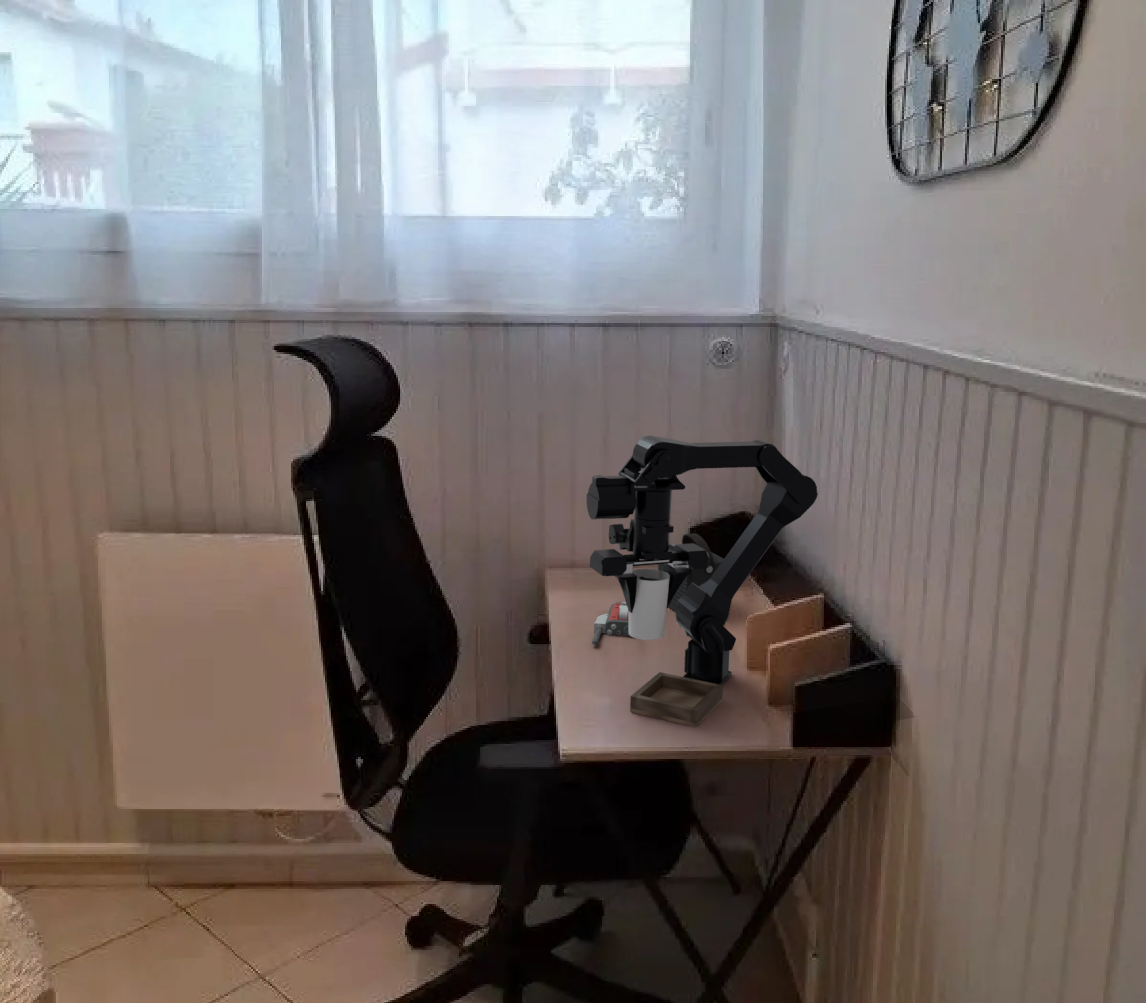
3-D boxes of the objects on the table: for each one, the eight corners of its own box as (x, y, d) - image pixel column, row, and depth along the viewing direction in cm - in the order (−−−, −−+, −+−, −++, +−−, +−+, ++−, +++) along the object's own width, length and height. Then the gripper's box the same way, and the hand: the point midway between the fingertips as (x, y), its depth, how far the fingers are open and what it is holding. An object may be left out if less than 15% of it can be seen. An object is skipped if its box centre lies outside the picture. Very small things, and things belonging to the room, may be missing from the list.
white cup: (627, 640, 167) (630, 580, 165) (624, 626, 174) (627, 568, 171) (668, 641, 167) (672, 581, 165) (664, 627, 174) (667, 569, 172)
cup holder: (722, 700, 167) (723, 685, 166) (696, 727, 157) (697, 711, 157) (659, 686, 172) (659, 672, 171) (630, 711, 162) (630, 696, 162)
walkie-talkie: (601, 613, 208) (588, 650, 189) (601, 592, 207) (588, 627, 188) (645, 616, 207) (636, 653, 187) (646, 594, 206) (637, 629, 186)
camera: (700, 593, 219) (703, 524, 216) (734, 614, 207) (737, 541, 203) (653, 599, 216) (655, 528, 212) (685, 621, 203) (687, 546, 200)
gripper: (682, 502, 177) (677, 591, 180) (579, 508, 170) (575, 600, 173) (713, 518, 166) (707, 611, 170) (605, 524, 160) (601, 621, 163)
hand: (647, 610), depth 169 cm, fingers closed on white cup, 6 cm apart
